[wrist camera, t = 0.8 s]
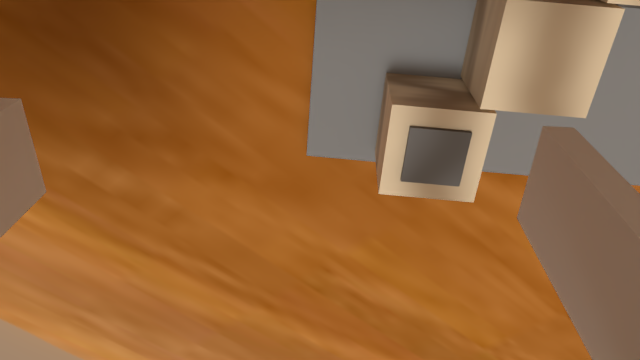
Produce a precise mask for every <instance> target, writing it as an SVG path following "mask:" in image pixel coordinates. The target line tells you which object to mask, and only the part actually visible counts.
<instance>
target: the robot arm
mask: <svg viewBox="0 0 640 360" xmlns="http://www.w3.org/2000/svg"><path fill="white" fill-rule="evenodd" d="M45 193H46V189H45V185H44V182H43V178H42V174H41V171H40V167H39V163H38V160H37V156H36V152H35V149H34V145H33V141H32V138H31V134H30V130H29V127H28V123H27V119H26V116H25V112H24V108H23V105H22V101H21V99H16V98H0V237H2V236H3V235H4V234H5V233H6V232H7V231H8V230H9V229H10V228H11V227H12V226H13V225H14V224H15V223H16V222H17V221H18V220H19V219H20V218H21V217H22V216H23V215H24V214H25V213H26V212H27V211H28V210H29V209H30V208H31V207H32V206H33V205H34V204H35V203H36V202H37V201H38V200H39V199H40V198H41V197H42V196H43V195H44V194H45ZM517 219H518V221H519V223H520V225H521V227H522V228H523V230H524V232H525V234H526V236H527V238H528V240H529V242H530V244H531V245H532V247H533V249H534V251H535V253H536V255H537V257H538V259H539V260H540V262H541V264H542V266H543V268H544V270H545V272H546V274H547V275H548V277H549V279H550V281H551V283H552V285H553V287H554V289H555V290H556V292H557V294H558V296H559V298H560V300H561V302H562V304H563V305H564V307H565V309H566V311H567V313H568V315H569V317H570V319H571V320H572V322H573V324H574V326H575V328H576V330H577V332H578V334H579V335H580V337H581V339H582V341H583V343H584V345H585V347H586V349H587V350H588V352H589V354H590V356H591V358H592V360H640V194H639V193H638V192H637V191H636V190H635V189H634V188H633V187H632V186H631V185H630V184H629V183H628V182H627V181H626V180H625V179H624V178H623V177H622V176H621V175H620V174H619V173H618V172H617V171H616V170H615V169H614V168H613V167H612V166H611V165H610V164H609V163H608V162H607V161H606V160H605V158H604V157H603V156H602V155H601V154H600V153H599V152H598V151H597V150H596V149H595V148H594V147H593V146H592V145H591V144H590V143H589V142H588V141H587V140H586V139H585V138H584V137H583V136H582V135H581V134H580V133H579V132H578V131H577V130H576V129H575V128H573V127H554V126H543V127H542V131H541V134H540V138H539V141H538V145H537V149H536V152H535V156H534V159H533V163H532V166H531V170H530V174H529V177H528V181H527V184H526V188H525V191H524V195H523V198H522V202H521V206H520V209H519V213H518V216H517Z"/></svg>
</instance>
